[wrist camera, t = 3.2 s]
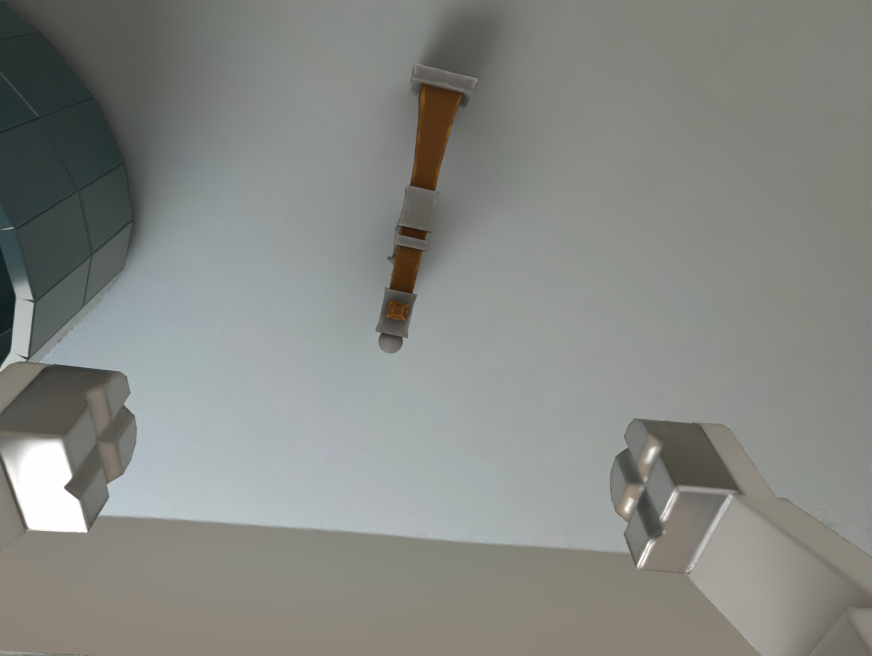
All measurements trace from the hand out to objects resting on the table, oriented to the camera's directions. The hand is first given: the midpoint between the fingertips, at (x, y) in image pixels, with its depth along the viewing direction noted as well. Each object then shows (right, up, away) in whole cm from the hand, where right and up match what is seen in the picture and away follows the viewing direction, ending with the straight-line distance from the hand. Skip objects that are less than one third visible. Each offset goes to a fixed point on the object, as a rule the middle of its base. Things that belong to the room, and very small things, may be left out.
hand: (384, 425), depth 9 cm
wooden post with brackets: (+1, +6, +10) cm, 12 cm away
